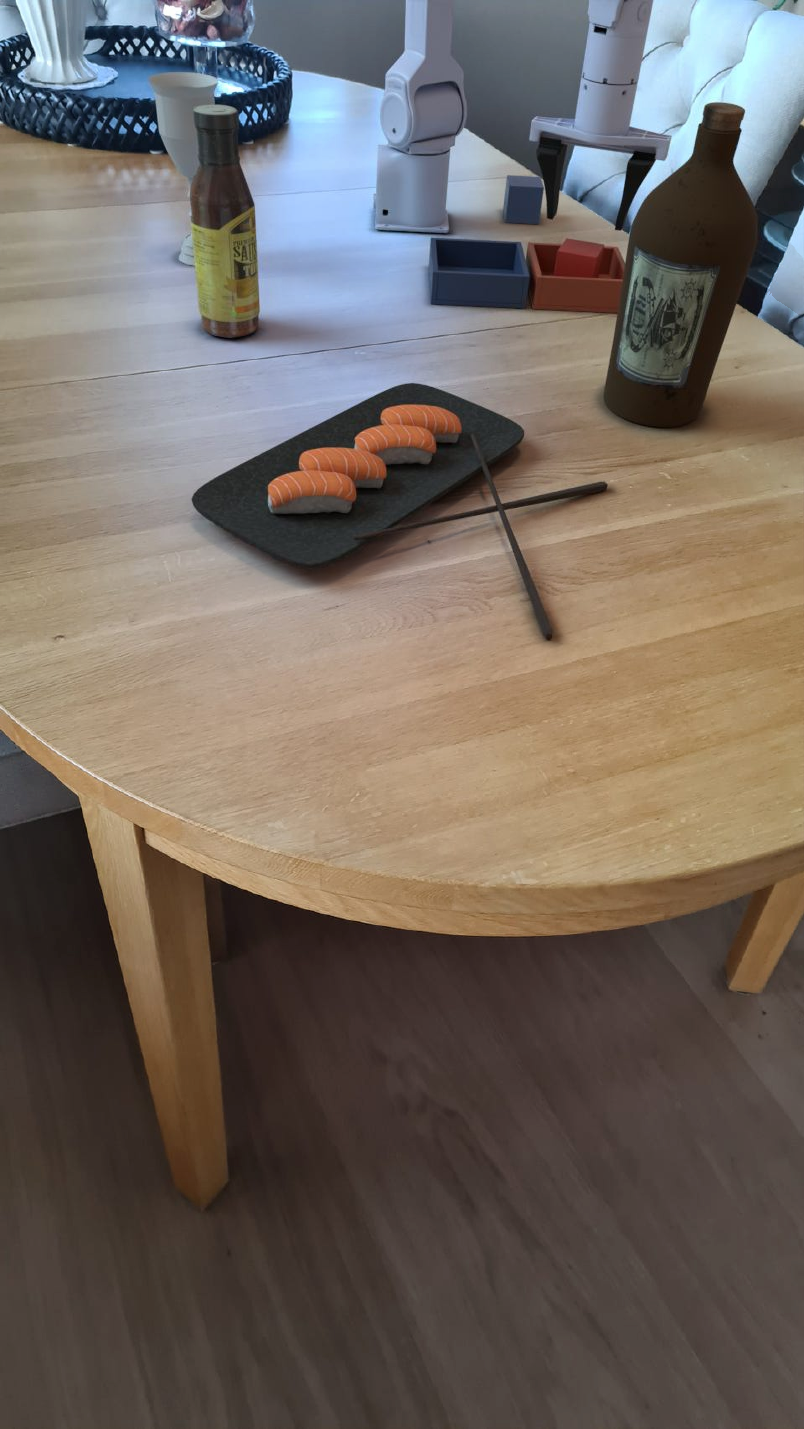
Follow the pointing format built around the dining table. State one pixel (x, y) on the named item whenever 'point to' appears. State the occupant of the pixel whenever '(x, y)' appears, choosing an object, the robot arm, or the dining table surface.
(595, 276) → the red block
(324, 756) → the dining table surface
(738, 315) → the dining table surface
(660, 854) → the dining table surface
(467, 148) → the dining table surface
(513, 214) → the blue block
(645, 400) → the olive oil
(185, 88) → the chalice
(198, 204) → the sauce bottle
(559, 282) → the red bin
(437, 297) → the blue bin
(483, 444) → the sushi plate
